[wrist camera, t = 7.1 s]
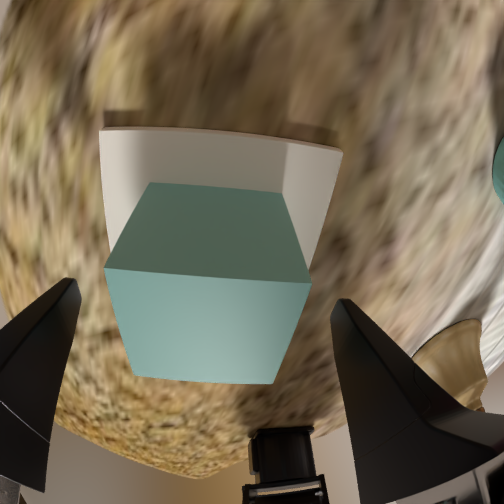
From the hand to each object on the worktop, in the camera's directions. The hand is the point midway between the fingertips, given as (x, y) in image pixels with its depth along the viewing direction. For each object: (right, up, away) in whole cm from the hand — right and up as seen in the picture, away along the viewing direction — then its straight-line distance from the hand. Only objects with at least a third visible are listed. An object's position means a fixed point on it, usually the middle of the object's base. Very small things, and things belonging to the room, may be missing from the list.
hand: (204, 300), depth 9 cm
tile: (0, +2, +3) cm, 4 cm away
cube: (0, +2, +3) cm, 3 cm away
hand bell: (+19, -7, +12) cm, 24 cm away
